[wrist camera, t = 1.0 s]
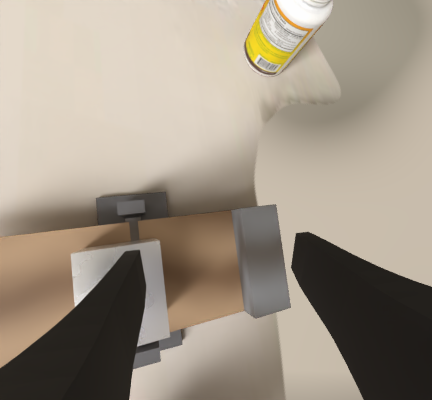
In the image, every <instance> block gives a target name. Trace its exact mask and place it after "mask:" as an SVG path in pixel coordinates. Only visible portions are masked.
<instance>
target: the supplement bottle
mask: <svg viewBox="0 0 432 400" xmlns="http://www.w3.org/2000/svg"><path fill="white" fill-rule="evenodd" d="M332 7H333V0H266V1H265V3H264V5H263V7H262V9H261V11H260V13H259V15H258V17H257V19H256V20H255V22H254V24H253V26H252V28H251V30H250V32H249V34H248V36H247V38H246V40H245V43H244V55H245V59H246V61H247V63H248V65H249V66H250V67H251V68H252V69H253V70H254V71H255V72H256V73H258V74H260V75H263V76H269V77H270V76H275V75H278V74H279V73H281V72H282V71H283V70H284V69H285V68H286V67H287V65H288V64H289V63H290V62H291V61H292V60H293V58H294V57H295V56H296V55H297V54H298V53H299V51H300V50H301V49H302V48H303V47H304V46H305V44H306V43H307V42H308V41H309V40H310V39H311V38H312V36H313V35H314V34H315V33H316V32H317V31H318V29H319V28H320V27H321V26H322V25H323V24H324V23H325V21H326V20H327V19H328V17H329V16H330V14H331V11H332Z"/></svg>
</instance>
